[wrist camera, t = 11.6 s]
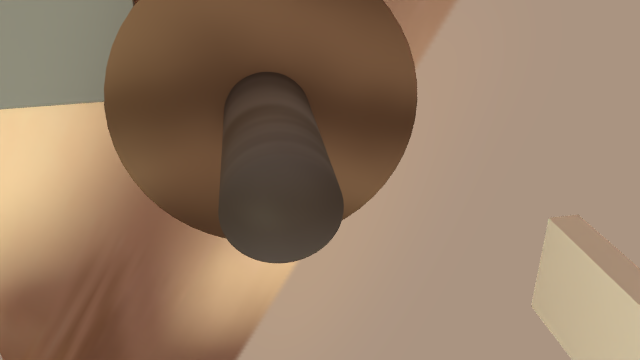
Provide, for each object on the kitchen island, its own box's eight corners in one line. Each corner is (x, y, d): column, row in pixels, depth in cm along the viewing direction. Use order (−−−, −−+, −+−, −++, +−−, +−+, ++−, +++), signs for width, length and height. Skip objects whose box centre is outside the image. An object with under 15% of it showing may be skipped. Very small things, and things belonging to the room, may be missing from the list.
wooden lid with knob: (404, 215, 27) (475, 346, 19) (143, 244, 25) (101, 399, 17) (417, -66, 20) (531, -47, 13) (72, -48, 19) (-42, -13, 11)
